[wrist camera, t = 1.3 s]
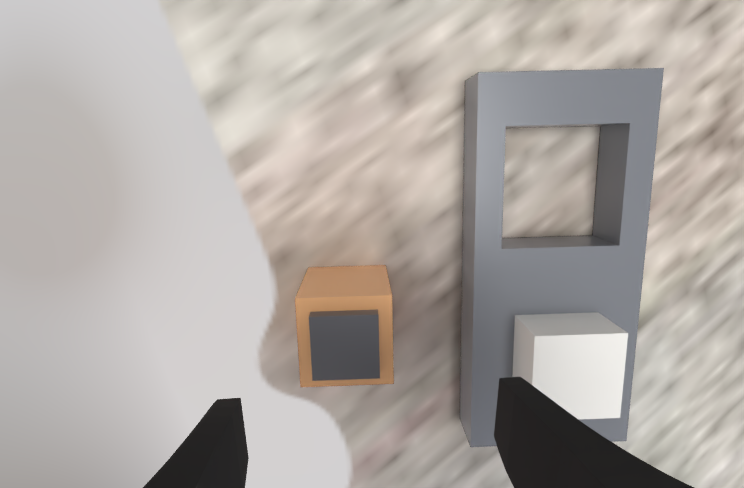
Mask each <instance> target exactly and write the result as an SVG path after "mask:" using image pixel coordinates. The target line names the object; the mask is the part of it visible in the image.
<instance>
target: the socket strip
mask: <svg viewBox="0 0 744 488" xmlns="http://www.w3.org/2000/svg"><path fill="white" fill-rule="evenodd" d="M663 70H664V68H648V69H604V70H560V71H516V72H478V73H477V74H475V75H474V76H472V77H471V78H469V79H467V80H466V81H465V122H464V186H463V249H462V313H461V376H460V420H461V423H462V426H463V428H464V431H465V434H466V436H467V439H468V442H469V445H470V447H484V446H497V444H496V441H495V438H494V429H495V418H496V408H497V398H498V387H499V378H507V377H522V378H523V379H524V380H526V381H527V382H529V383H530V384H531V385H533V386H534V387H535V388H537V389H538V390H539V391H541V392H542V393H543V394H545V395H546V396H547V397H549V398H550V399H551V400H553V401H554V402H555V403H557V404H558V405H559V406H561V407H562V408H563V409H565V410H566V411H567V412H569V413H570V414H571V415H573V416H574V417H576V418H577V419H578V420H580V421H581V422H583V423H584V424H585V425H587V426H588V427H590V428H591V429H593V430H594V431H596V432H597V433H599V434H600V435H602V436H603V437H605V438H606V439H608V440H609V441H611V442H612V441H626V439H627V429H628V419H629V409H630V399H631V389H632V379H633V369H634V359H635V349H636V339H637V329H638V319H639V309H640V299H641V289H642V280H643V270H644V260H645V250H646V240H647V230H648V220H649V210H650V200H651V190H652V180H653V170H654V160H655V150H656V140H657V130H658V120H659V110H660V100H661V90H662V80H663ZM576 126H601V128H600V141H599V155H598V168H597V181H596V194H595V208H594V221H593V234H592V235H591V236H557V237H524V238H502V222H503V192H504V163H505V133H506V128H536V127H576Z"/></svg>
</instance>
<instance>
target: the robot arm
mask: <svg viewBox="0 0 744 488" xmlns="http://www.w3.org/2000/svg"><path fill="white" fill-rule="evenodd" d="M494 438H495V441H496V444H497V447H498V450H499V453H500V456H501V458H502V461H503V464H504V467H505V469H506V472H507V474H508V476H509V478H510V480H511V482H512V484H513V486H514V488H694V487H691V486H689V485H687V484H685V483H683V482H681V481H679V480H677V479H675V478H673V477H671V476H669V475H667V474H665V473H664V472H662V471H660V470H658V469H656V468H654V467H653V466H651V465H649V464H647V463H646V462H644V461H642V460H640V459H639V458H637V457H635V456H633V455H632V454H630V453H628V452H627V451H625V450H623V449H622V448H620V447H618V446H617V445H615V444H614V443H612V442H611V441H609V440H608V439H606V438H605V437H603V436H602V435H600V434H599V433H597V432H596V431H594V430H593V429H591V428H590V427H588V426H587V425H585V424H584V423H583V422H581V421H580V420H578V419H577V418H576V417H574V416H573V415H571V414H570V413H569V412H567V411H566V410H565V409H563V408H562V407H561V406H559V405H558V404H557V403H555V402H554V401H553V400H551V399H550V398H549V397H547V396H546V395H545V394H543V393H542V392H541V391H539V390H538V389H537V388H535V387H534V386H533V385H531V384H530V383H529V382H527V381H526V380H524V379H523V378H522V377H507V378H499V387H498V398H497V408H496V418H495V429H494ZM247 465H248V451H247V444H246V436H245V428H244V421H243V413H242V406H241V399H240V398H232V399H220V400H217V401H216V402H215V403H214V404H213V405H212V406H211V407H210V409H209V410H208V411H207V413H206V414H205V415H204V417H203V418H202V419H201V421H200V422H199V423H198V425H197V426H196V427H195V428H194V430H193V431H192V432H191V433H190V434H189V436H188V437H187V438H186V439H185V441H184V442H183V443H182V444H181V445H180V447H179V448H178V449H177V450H176V451H175V453H174V454H173V455H172V456H171V457H170V459H169V460H168V461H167V462H166V463H165V464H164V465H163V467H162V468H161V469H160V470H159V471H158V472H157V473H156V474H155V475H154V477H152V479H151V480H150V481H149V482H148V483H147V484H146V485H145V486H144V487H143V488H245V481H246V474H247Z"/></svg>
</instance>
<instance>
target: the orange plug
mask: <svg viewBox="0 0 744 488" xmlns="http://www.w3.org/2000/svg"><path fill="white" fill-rule="evenodd" d="M295 307H296V323H297V339H298V354H299V370H300V386H301V387H320V386H348V385H375V384H394V375H393V318H392V292H391V288H390V283H389V279H388V274H387V270H386V265H370V266H338V267H308V270H307V272H306V274H305V276H304V279H303V281H302V283H301V286H300V288H299V290H298V292H297V295H296V297H295Z"/></svg>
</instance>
